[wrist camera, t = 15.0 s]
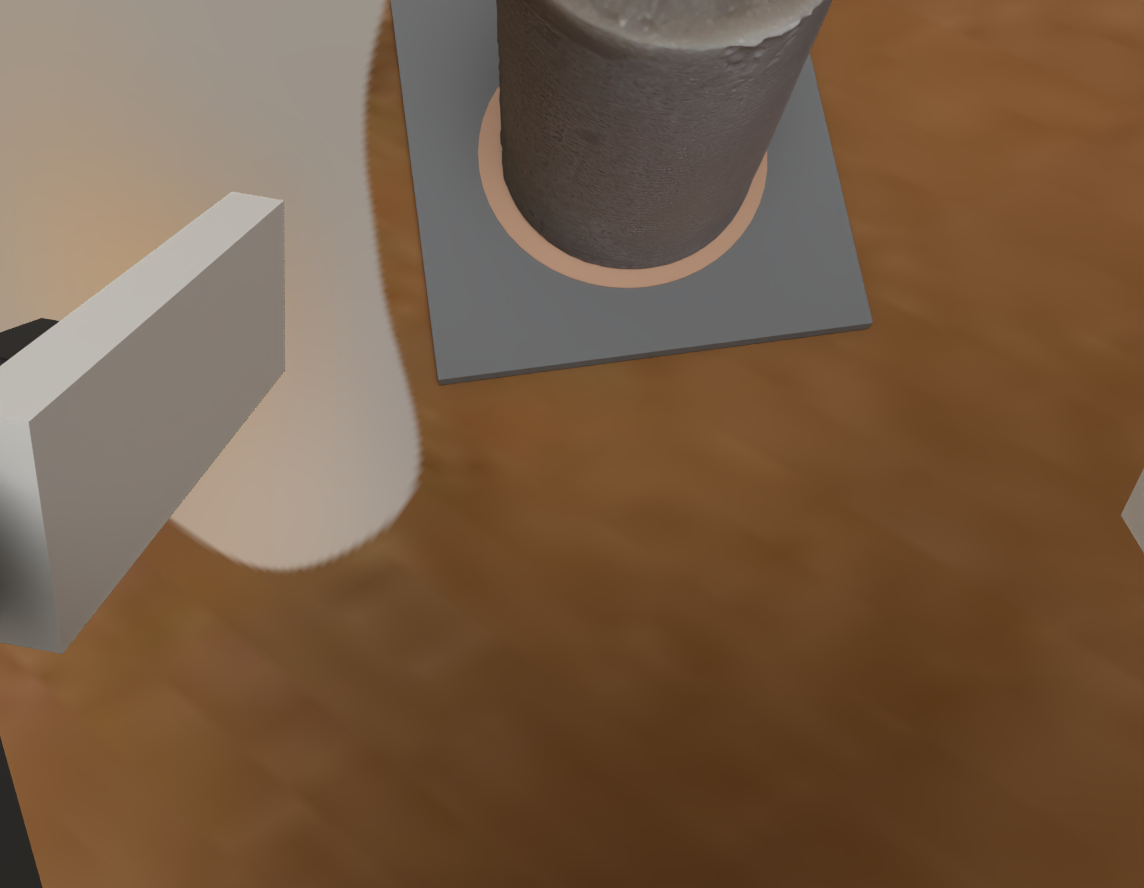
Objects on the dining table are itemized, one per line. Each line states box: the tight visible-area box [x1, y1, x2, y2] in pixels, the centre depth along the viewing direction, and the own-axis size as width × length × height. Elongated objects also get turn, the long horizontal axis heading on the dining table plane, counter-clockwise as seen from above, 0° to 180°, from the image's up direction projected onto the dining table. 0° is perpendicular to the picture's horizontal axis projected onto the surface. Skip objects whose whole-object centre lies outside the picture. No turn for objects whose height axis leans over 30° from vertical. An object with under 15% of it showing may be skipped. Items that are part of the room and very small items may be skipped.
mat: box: [391, 0, 873, 385], centre depth 40 cm, size 16×16×1 cm
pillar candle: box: [496, 0, 832, 269], centre depth 33 cm, size 10×10×15 cm
